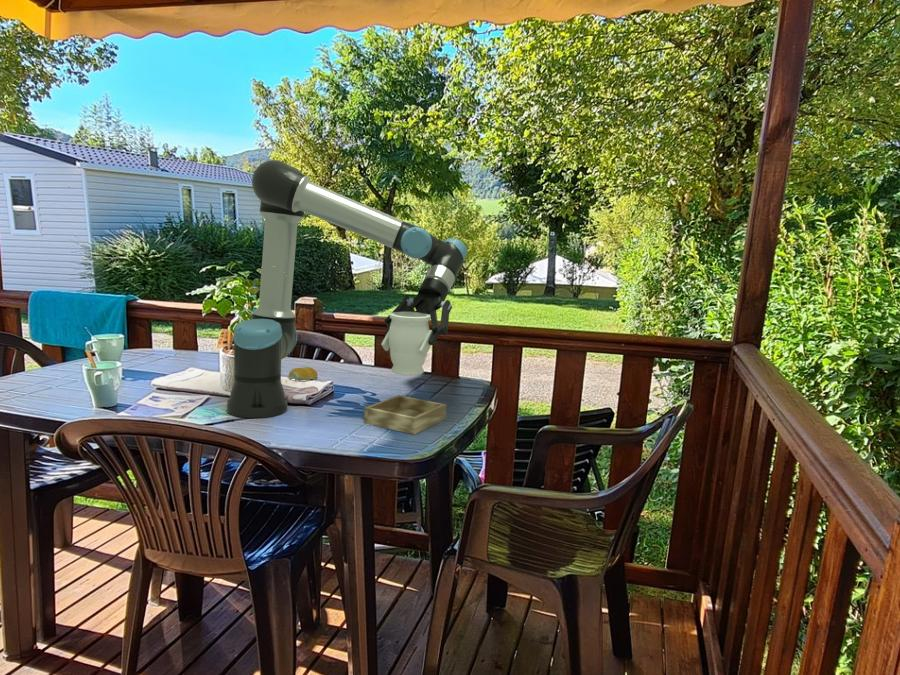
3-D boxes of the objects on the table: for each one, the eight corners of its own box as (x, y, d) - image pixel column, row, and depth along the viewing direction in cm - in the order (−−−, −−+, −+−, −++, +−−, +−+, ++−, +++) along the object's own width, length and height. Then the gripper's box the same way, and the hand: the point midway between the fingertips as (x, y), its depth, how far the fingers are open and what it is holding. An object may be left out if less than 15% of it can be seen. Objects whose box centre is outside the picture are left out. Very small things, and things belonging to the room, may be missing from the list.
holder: (363, 422, 148) (364, 407, 147) (397, 409, 162) (398, 395, 161) (414, 434, 141) (415, 418, 140) (445, 419, 155) (446, 404, 154)
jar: (432, 376, 146) (435, 317, 143) (392, 377, 143) (394, 317, 140) (421, 366, 156) (424, 311, 153) (383, 367, 153) (385, 310, 150)
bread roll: (322, 379, 192) (322, 367, 192) (301, 383, 185) (301, 371, 184) (305, 374, 197) (305, 363, 196) (283, 378, 190) (284, 366, 189)
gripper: (478, 299, 155) (447, 365, 143) (404, 291, 165) (370, 353, 154) (470, 279, 149) (438, 347, 138) (395, 273, 160) (359, 335, 148)
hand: (402, 350), depth 146 cm, fingers closed on jar, 10 cm apart
